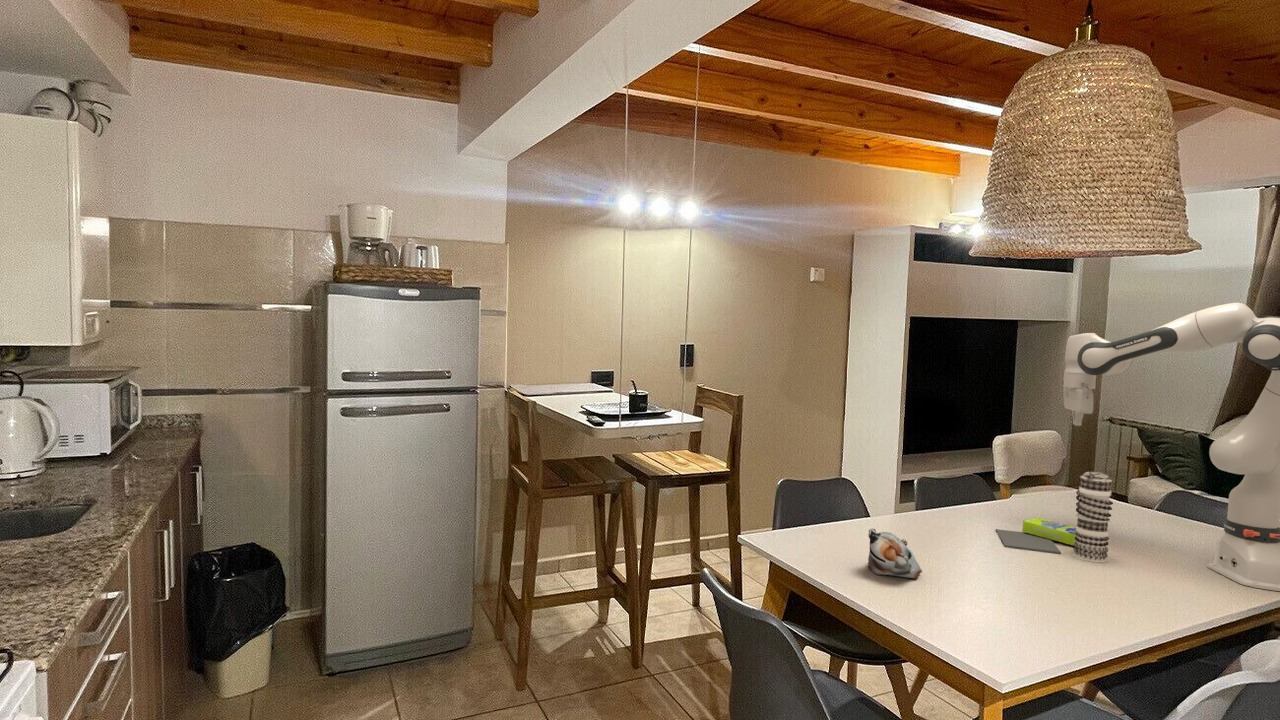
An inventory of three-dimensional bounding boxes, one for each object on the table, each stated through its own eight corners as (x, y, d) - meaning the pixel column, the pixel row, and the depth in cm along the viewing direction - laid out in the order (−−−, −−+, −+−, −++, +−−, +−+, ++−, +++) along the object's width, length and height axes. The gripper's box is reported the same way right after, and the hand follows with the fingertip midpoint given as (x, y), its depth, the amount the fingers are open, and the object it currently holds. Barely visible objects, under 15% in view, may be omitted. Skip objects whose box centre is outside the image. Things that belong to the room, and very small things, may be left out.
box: (1037, 516, 238) (1095, 531, 224) (1035, 528, 238) (1093, 544, 224) (1022, 520, 231) (1081, 535, 218) (1021, 532, 231) (1079, 549, 218)
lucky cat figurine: (932, 579, 186) (928, 538, 180) (894, 599, 183) (889, 559, 177) (894, 546, 199) (889, 507, 193) (857, 564, 196) (852, 526, 190)
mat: (1060, 554, 212) (1061, 552, 212) (1004, 547, 217) (1004, 545, 217) (1047, 536, 230) (1047, 535, 230) (995, 530, 235) (995, 529, 235)
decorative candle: (1081, 551, 216) (1087, 469, 215) (1114, 560, 208) (1121, 475, 207) (1065, 555, 211) (1071, 471, 210) (1099, 564, 204) (1105, 477, 202)
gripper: (1100, 384, 221) (1098, 429, 221) (1081, 381, 240) (1079, 422, 241) (1077, 383, 223) (1074, 428, 223) (1060, 380, 242) (1058, 421, 243)
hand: (1077, 425), depth 232 cm, fingers closed
